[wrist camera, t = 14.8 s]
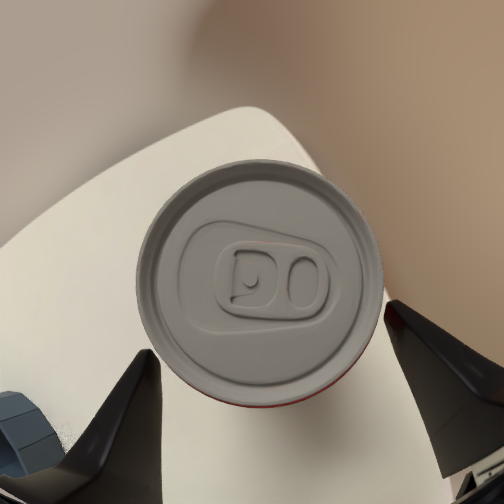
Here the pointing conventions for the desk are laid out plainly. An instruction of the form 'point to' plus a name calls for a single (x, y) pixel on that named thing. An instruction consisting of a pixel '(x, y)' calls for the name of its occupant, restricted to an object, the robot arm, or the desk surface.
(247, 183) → the beverage can
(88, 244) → the desk surface
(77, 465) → the robot arm
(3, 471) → the can holder
